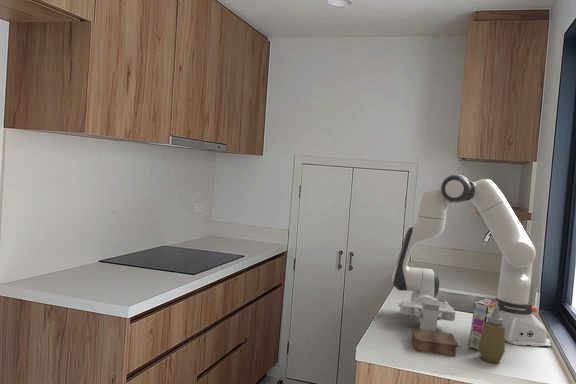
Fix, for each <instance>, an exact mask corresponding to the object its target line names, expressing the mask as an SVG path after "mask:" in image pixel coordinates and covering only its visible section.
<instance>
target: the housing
mask: <svg viewBox="0 0 576 384" xmlns="http://www.w3.org/2000/svg"><path fill="white" fill-rule="evenodd" d="M438 311H439V304H438V303H437V302H432V301H425V300H423V304H422V312H423V318H420V323H419V329H421V330H428V331H435V332H437V325H438V320H437V318H438Z"/></svg>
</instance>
